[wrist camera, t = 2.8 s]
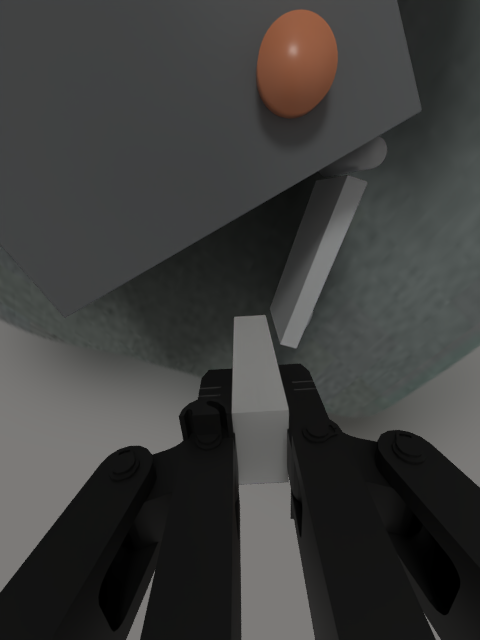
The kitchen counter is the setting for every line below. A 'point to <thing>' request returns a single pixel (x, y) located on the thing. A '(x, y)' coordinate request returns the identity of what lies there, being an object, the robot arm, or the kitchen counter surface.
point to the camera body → (178, 122)
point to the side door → (313, 254)
